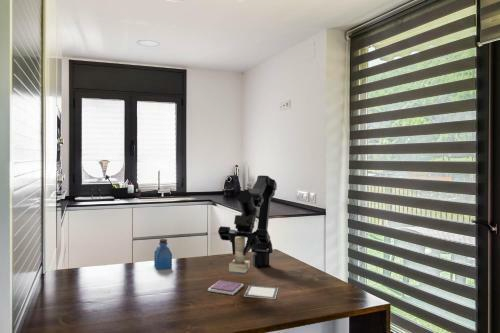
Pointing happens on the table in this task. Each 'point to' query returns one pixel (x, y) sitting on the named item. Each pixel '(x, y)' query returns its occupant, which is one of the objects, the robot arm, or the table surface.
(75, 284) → the table surface
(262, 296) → the marked card
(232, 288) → the ink pad
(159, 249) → the perfume bottle
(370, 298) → the table surface
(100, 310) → the table surface
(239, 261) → the stamp
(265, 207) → the robot arm
